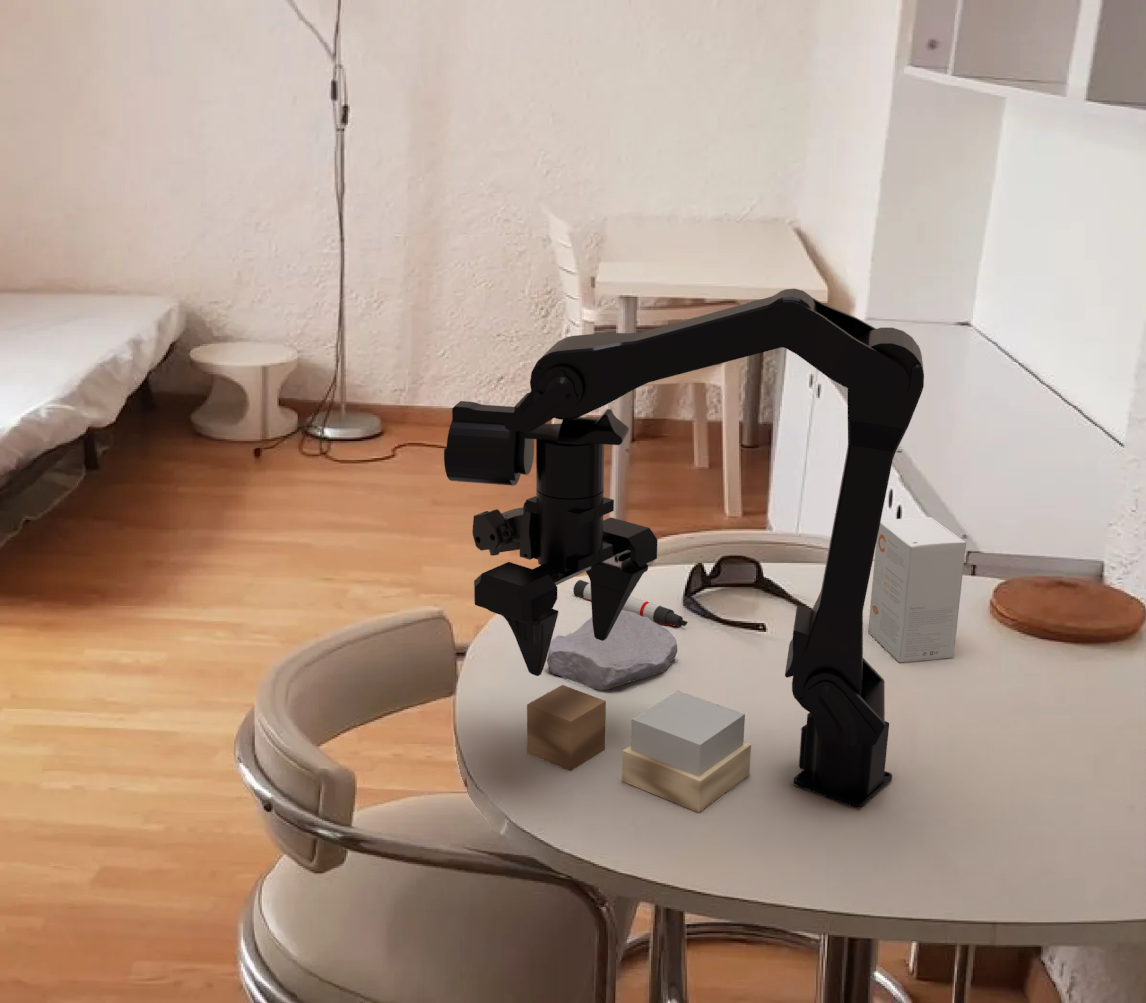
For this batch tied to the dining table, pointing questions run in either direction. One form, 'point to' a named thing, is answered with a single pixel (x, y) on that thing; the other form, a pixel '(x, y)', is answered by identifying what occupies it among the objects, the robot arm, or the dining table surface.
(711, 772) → the beech base block
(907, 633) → the small box
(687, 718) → the grey block
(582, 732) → the walnut cube
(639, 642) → the stone block
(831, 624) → the robot arm
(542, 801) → the dining table surface
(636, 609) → the marker
